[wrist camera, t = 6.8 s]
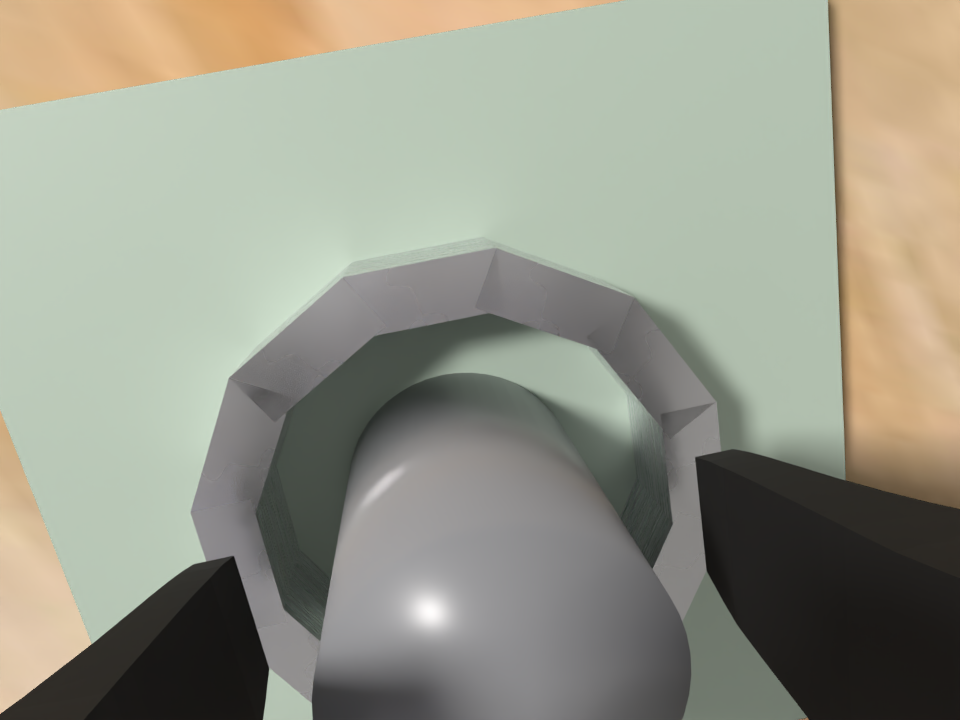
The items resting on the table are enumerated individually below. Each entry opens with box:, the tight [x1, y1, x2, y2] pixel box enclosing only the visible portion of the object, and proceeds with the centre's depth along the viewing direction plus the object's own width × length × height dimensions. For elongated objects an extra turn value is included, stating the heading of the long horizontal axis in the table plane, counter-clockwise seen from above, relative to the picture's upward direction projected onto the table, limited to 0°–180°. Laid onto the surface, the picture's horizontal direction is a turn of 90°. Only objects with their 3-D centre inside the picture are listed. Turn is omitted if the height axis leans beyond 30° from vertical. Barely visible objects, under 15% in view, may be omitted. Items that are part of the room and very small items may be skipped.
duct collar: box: [190, 237, 721, 703], centre depth 13 cm, size 9×9×2 cm
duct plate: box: [0, 0, 846, 720], centre depth 14 cm, size 16×16×1 cm
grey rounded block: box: [312, 373, 691, 720], centre depth 11 cm, size 4×5×6 cm
